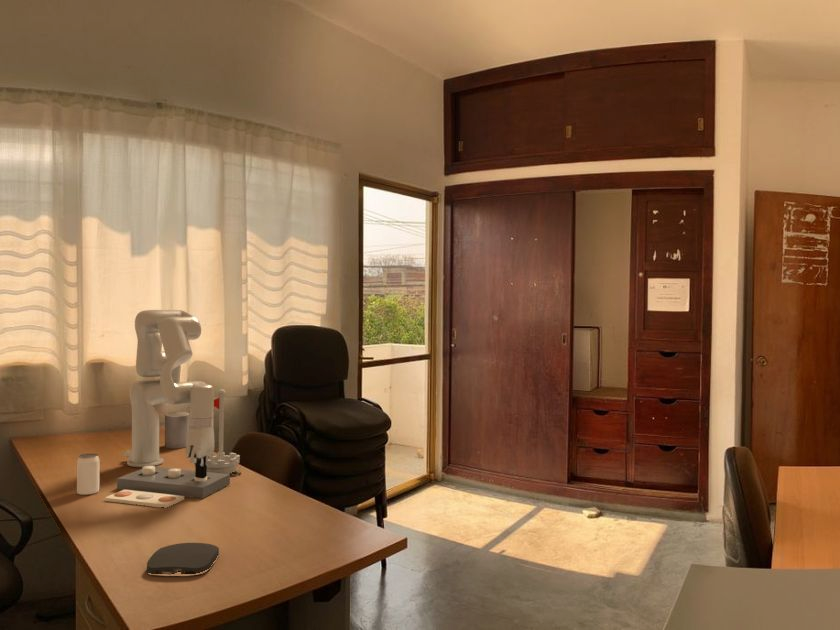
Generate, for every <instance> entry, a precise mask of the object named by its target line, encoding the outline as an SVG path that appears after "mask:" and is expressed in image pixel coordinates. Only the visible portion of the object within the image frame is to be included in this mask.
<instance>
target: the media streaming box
mask: <svg viewBox="0 0 840 630" xmlns="http://www.w3.org/2000/svg"><path fill="white" fill-rule="evenodd" d="M219 550H220V548H219V546H217V545H214V544H210V543H205V542H182V543H181V542H180V543H175V544H169V545H167V546H166V545H165V546H163V547H160V548H159V549H157V550H156V551H154V552H153V553H152V554H151V556H150V557H149V558H148V561H147V562H146V573H147V572H148V573H151V574H175V573H177V572H181V574H196V573H200V572H203V571H205V570H207V569H209V568H210V567H211V565H212V564H213V562H214V561H215V560H216V558H217V556H218V555H219V554H220V551H219ZM219 556H220V555H219ZM148 573H147V574H148Z"/></svg>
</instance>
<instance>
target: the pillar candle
mask: <svg viewBox="0 0 840 630" xmlns="http://www.w3.org/2000/svg"><path fill="white" fill-rule="evenodd" d="M189 420H190V412H188V411H172V412H167V413H165V414H164V448H166V449H182V448H186V442H187V434H188V429H189V428H190V427H189Z"/></svg>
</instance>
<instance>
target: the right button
mask: <svg viewBox="0 0 840 630" xmlns="http://www.w3.org/2000/svg"><path fill="white" fill-rule="evenodd" d="M206 480H207V476H206V477H204V478H196V477H195V478H194V481H201V482H204V481H206Z"/></svg>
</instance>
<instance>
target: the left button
mask: <svg viewBox="0 0 840 630" xmlns="http://www.w3.org/2000/svg"><path fill="white" fill-rule="evenodd" d="M155 467H156V466H145V467H141V469H142V475H143V476H152V475H155Z"/></svg>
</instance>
